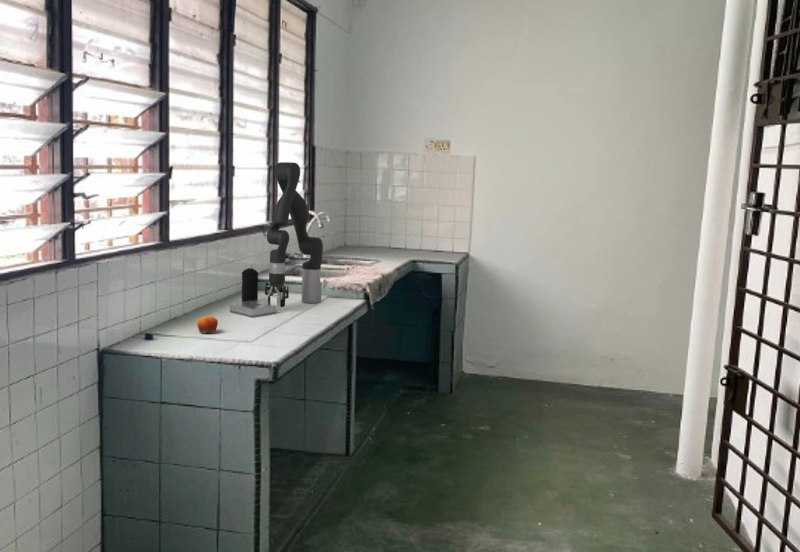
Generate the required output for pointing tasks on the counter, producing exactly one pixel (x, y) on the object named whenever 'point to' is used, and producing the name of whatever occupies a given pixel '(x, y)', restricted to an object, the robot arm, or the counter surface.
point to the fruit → (207, 324)
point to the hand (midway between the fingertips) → (276, 305)
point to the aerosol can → (249, 284)
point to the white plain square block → (276, 302)
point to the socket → (252, 308)
